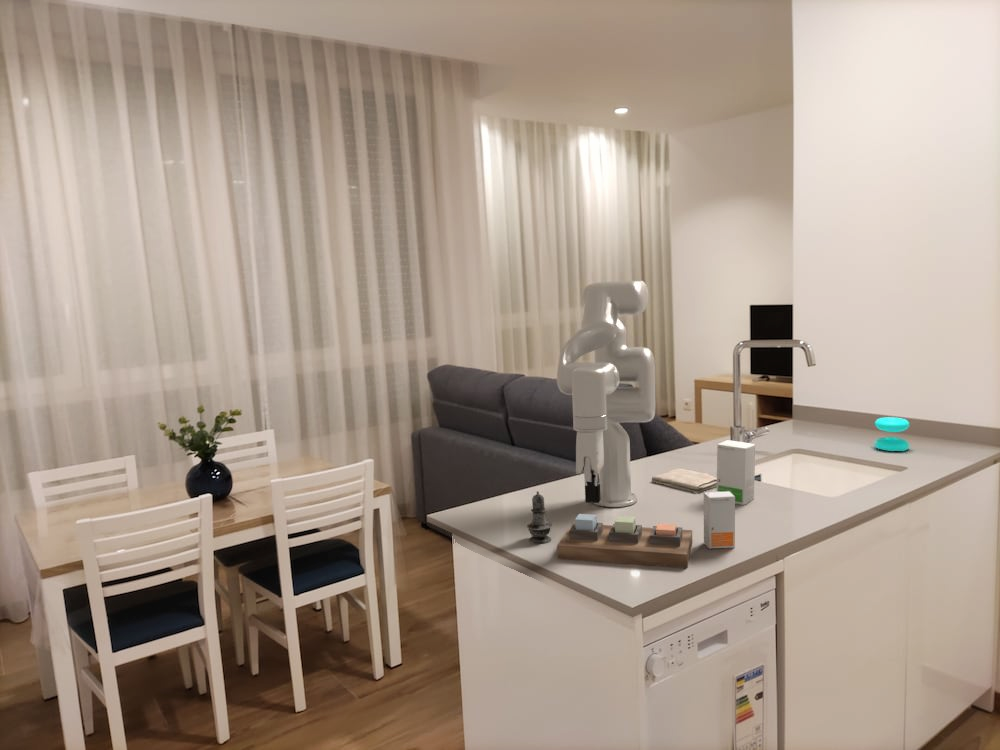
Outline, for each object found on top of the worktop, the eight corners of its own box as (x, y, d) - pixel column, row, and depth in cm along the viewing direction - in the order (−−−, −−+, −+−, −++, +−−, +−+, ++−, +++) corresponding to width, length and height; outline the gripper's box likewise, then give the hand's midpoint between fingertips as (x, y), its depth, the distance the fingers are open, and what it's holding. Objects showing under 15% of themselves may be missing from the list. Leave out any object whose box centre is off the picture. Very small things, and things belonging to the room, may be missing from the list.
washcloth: (699, 495, 204) (699, 485, 203) (649, 483, 218) (649, 473, 217) (725, 486, 211) (725, 476, 211) (675, 475, 225) (674, 466, 225)
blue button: (579, 524, 170) (579, 513, 169) (596, 525, 168) (596, 514, 168) (575, 530, 166) (575, 519, 166) (592, 531, 165) (592, 520, 164)
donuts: (902, 423, 233) (870, 420, 240) (902, 454, 234) (869, 450, 242) (914, 418, 240) (881, 415, 247) (913, 448, 241) (881, 444, 248)
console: (572, 535, 176) (572, 515, 176) (692, 542, 167) (692, 521, 167) (557, 558, 162) (556, 536, 162) (687, 568, 153) (686, 545, 153)
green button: (618, 526, 167) (617, 515, 166) (635, 527, 165) (635, 516, 165) (615, 532, 163) (614, 521, 163) (633, 533, 162) (632, 522, 161)
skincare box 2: (715, 500, 197) (715, 444, 195) (726, 494, 202) (726, 439, 200) (745, 505, 192) (745, 447, 190) (756, 499, 196) (755, 442, 194)
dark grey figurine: (551, 534, 177) (548, 486, 176) (553, 543, 172) (551, 493, 170) (526, 536, 177) (524, 488, 176) (528, 544, 171) (526, 495, 170)
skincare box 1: (708, 549, 163) (708, 497, 161) (703, 542, 167) (702, 492, 166) (736, 548, 163) (735, 496, 161) (730, 541, 167) (729, 490, 166)
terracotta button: (658, 534, 164) (657, 523, 164) (676, 535, 163) (676, 524, 162) (656, 540, 160) (655, 529, 160) (674, 542, 159) (674, 530, 159)
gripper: (580, 415, 172) (582, 491, 174) (566, 429, 157) (570, 511, 160) (611, 416, 169) (614, 492, 172) (601, 429, 155) (604, 512, 158)
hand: (593, 501), depth 166 cm, fingers closed
